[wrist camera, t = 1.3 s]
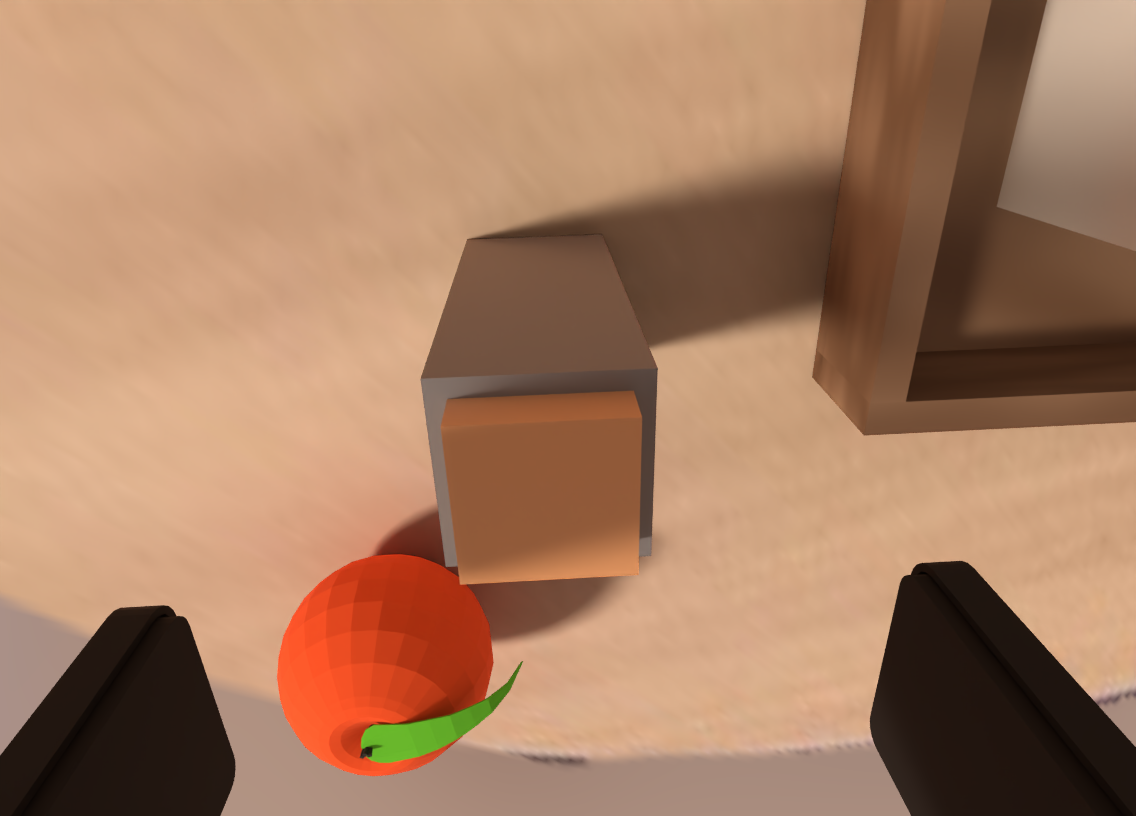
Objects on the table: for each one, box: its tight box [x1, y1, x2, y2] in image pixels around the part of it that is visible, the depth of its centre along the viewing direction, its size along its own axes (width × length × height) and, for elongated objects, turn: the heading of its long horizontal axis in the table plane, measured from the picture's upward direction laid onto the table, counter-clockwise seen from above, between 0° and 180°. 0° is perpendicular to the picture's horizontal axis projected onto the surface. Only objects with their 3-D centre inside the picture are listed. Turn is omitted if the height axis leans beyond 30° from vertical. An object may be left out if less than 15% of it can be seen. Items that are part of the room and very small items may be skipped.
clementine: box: [277, 554, 523, 776], centre depth 23 cm, size 8×7×7 cm
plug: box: [421, 234, 658, 585], centre depth 17 cm, size 4×4×11 cm
